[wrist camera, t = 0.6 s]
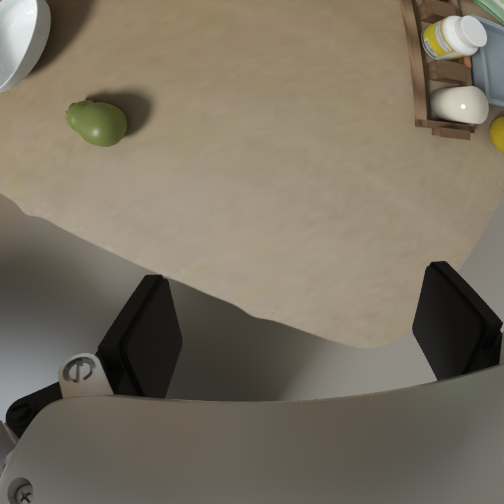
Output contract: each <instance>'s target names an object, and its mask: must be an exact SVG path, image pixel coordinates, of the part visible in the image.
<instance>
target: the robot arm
mask: <svg viewBox="0 0 504 504" xmlns="http://www.w3.org/2000/svg"><path fill="white" fill-rule="evenodd" d="M502 325H503V322H502V321H501V320H500V319H499V318H498V316H497V315H496V314H495V313H494V312H493V311H492V309H491V308H490V307H489V306H488V305H487V304H486V303H485V302H484V300H483V299H482V298H481V297H480V296H479V295H478V294H477V293H476V292H475V291H474V290H473V289H472V287H471V286H470V285H469V284H468V283H467V282H466V281H465V280H464V279H463V278H462V277H461V276H460V275H459V274H458V273H457V272H456V271H455V270H454V269H453V268H452V267H451V266H450V265H449V264H448V263H447V262H446V261H438V262H431V263H430V265H429V266H427V268H426V270H425V275H424V280H423V284H422V289H421V293H420V298H419V302H418V306H417V310H416V314H415V318H414V322H413V326H412V330H413V334H414V336H415V338H416V340H417V342H418V343H419V345H420V347H421V349H422V351H423V353H424V355H425V356H426V359H427V360H428V362H429V364H430V366H431V368H432V370H433V372H434V374H435V376H436V378H437V380H438V381H435V382H431V383H426V384H421V385H416V386H411V387H405V388H400V389H394V390H388V391H382V392H375V393H369V394H362V395H353V396H345V397H335V398H325V399H313V400H298V401H276V402H212V401H211V402H210V401H190V400H173V399H165V396H166V393H167V390H168V387H169V384H170V381H171V378H172V375H173V372H174V369H175V366H176V363H177V360H178V357H179V354H180V351H181V348H182V335H181V332H180V328H179V324H178V320H177V316H176V312H175V308H174V304H173V299H172V295H171V291H170V287H169V282H168V280H167V279H164V278H163V276H162V275H146V276H145V277H144V278H143V280H142V281H141V282H140V284H139V285H138V287H137V288H136V290H135V291H134V292H133V294H132V296H131V297H130V298H129V300H128V301H127V303H126V304H125V306H124V307H123V309H122V310H121V312H120V313H119V315H118V316H117V318H116V320H115V321H114V323H113V324H112V326H111V327H110V329H109V330H108V332H107V333H106V335H105V337H104V338H103V340H102V341H101V343H100V345H99V346H98V351H97V352H96V354H95V356H94V355H92V354H88V353H84V354H78V355H75V356H73V357H71V358H69V359H68V360H66V361H65V362H64V363H63V364H62V366H61V367H60V369H59V372H58V378H59V382H57V383H54V384H52V385H50V386H48V387H46V388H43V389H41V390H39V391H37V392H34V393H32V394H30V395H27V396H25V397H23V398H20V399H18V400H17V401H15V402H14V403H13V404H12V405H11V406H10V407H9V409H8V410H7V413H6V422H5V423H3V422H2V421H0V504H504V332H503V334H502V333H501V331H500V329H501V327H502Z"/></svg>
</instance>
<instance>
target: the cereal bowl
mask: <svg viewBox="0 0 504 504" xmlns="http://www.w3.org/2000/svg"><path fill="white" fill-rule="evenodd" d="M50 14H51V13H50V9H49V6H48V4H47V2H46V1H45V0H2V1H1V2H0V92H4V91H6V90H8V89H11V88H12V87H14V86H15V85H17V84H18V83H20V82H21V81H22V80H23V79H24V78H25V77H26V76H27V75H28V74H29V73H30V71H31V70H32V69H33V67H34V66H35V65H36V63H37V61H38V60H39V58H40V56H41V55H42V52H43V50H44V48H45V46H46V43H47V40H48V36H49V32H50V26H51V15H50Z"/></svg>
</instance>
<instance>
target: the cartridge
mask: <svg viewBox="0 0 504 504" xmlns="http://www.w3.org/2000/svg"><path fill="white" fill-rule="evenodd" d="M429 105H430V109H431V111H432V113H433V114H434V115H435V116H436V117H437V118H439V119H441V120H448V121H458V122H466V123H474V124H481V123H483V122H484V121H485V120H486V119H487V116H488V113H489V105H488V101H487V98H486V96H485V95H484V93H483V92H482V91H481V90H480V89H479V88H477V87H474V86H468V87H453V88H441V89H436V90H434V91H433V92H432V93H431V95H430V98H429Z"/></svg>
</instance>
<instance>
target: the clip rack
mask: <svg viewBox="0 0 504 504" xmlns="http://www.w3.org/2000/svg"><path fill="white" fill-rule="evenodd" d="M446 1H447V3H444V2H441V1H438V0H427V1H425V2H423V3H422V4H420V5H419V6H417V8H418V12H419V17H420V21H424V22H428V23H432V24H434V23H436V22H438V21H440V20H442V19H444V18H446V17H449V16H460V17H461V14H460V10H459V6H458V2H457V0H446ZM400 4H401V9H402V14H403V19H404V24H405V30H406V36H407V42H408V48H409V55H410V63H411V72H412V81H413V93H414V107H415V126H417V127H427V128H432V135H436V136H441V137H447V138H456V139H465V140H470V132H471V133H474V123H466V122H463V124H457V123H450V122H441V121H432V120H427V110H426V95H425V83H424V73H423V65H422V57H421V50H420V43H419V37H418V31H417V26H416V21H415V16H414V11H413V6H412V2H411V0H400ZM427 67H428V75H429V80H434V81H440V82H446V83H451V84H453V83H461V87H468V86H472V80H471V71H470V68H471V62H470V56H466V57H461V58H458V63H455V62H451V61H446V60H438V61H434V62H430V63H427Z"/></svg>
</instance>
